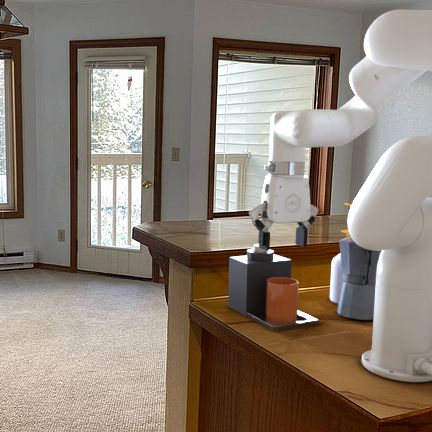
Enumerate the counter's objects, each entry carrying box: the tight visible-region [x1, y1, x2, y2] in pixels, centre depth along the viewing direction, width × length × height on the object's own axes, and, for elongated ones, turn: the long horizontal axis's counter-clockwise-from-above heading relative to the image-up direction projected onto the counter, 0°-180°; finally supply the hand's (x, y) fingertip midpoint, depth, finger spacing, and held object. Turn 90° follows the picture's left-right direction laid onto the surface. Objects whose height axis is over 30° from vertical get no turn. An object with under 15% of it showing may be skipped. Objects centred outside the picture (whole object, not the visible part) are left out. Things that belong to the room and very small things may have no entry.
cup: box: [265, 277, 300, 324], centre depth 123 cm, size 7×7×9 cm
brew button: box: [253, 243, 267, 253], centre depth 130 cm, size 3×3×2 cm
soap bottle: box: [329, 202, 353, 305], centre depth 136 cm, size 9×9×25 cm
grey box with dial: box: [227, 248, 293, 317], centre depth 131 cm, size 8×12×14 cm, turn 112°
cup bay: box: [245, 309, 320, 332], centre depth 124 cm, size 10×12×1 cm
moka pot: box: [336, 237, 382, 321], centre depth 125 cm, size 10×15×20 cm, turn 174°
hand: (282, 247), depth 122 cm, fingers open, 9 cm apart
